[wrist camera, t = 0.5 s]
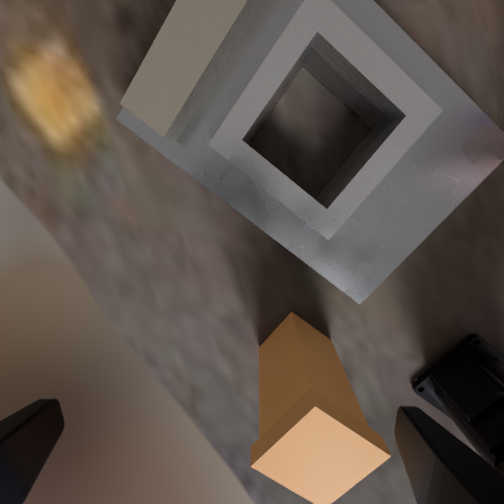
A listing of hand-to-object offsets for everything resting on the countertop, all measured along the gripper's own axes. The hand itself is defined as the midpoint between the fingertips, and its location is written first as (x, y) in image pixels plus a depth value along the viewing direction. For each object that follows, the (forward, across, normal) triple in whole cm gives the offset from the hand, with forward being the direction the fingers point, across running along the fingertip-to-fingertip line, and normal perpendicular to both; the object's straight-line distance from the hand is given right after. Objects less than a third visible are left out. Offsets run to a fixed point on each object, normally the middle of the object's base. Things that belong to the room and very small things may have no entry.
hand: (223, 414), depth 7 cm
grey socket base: (+13, -4, -8) cm, 16 cm away
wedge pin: (+13, -3, +7) cm, 15 cm away
